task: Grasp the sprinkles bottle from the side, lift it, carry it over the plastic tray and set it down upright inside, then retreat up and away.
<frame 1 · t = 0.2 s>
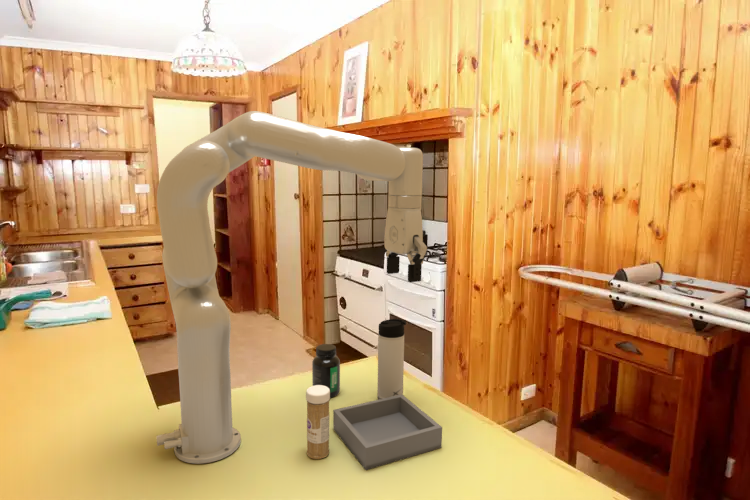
hand: (403, 277, 111), 31 cm above the countertop, tool pointing down, fingers open, 9 cm apart
travel mug: (390, 399, 118), on the countertop
supplement bottle: (326, 393, 121), on the countertop
sprinkles bottle: (318, 454, 95), on the countertop
tray: (385, 438, 100), on the countertop
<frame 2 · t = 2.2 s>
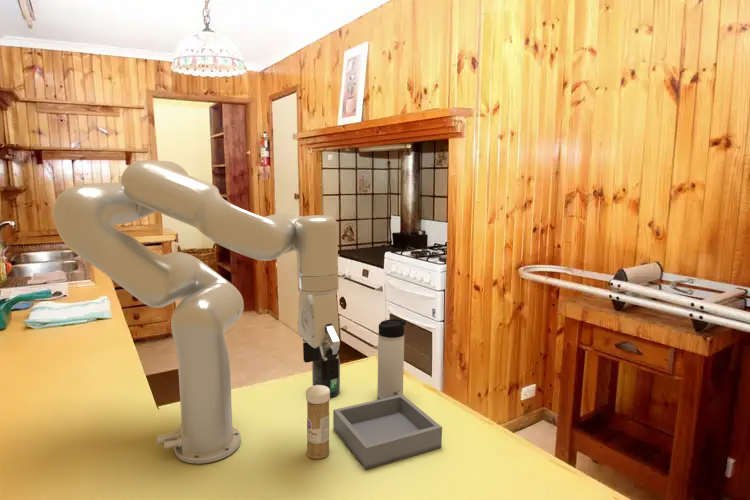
hand: (320, 369, 92), 17 cm above the countertop, tool pointing down, fingers open, 9 cm apart
nothing on the countertop moved.
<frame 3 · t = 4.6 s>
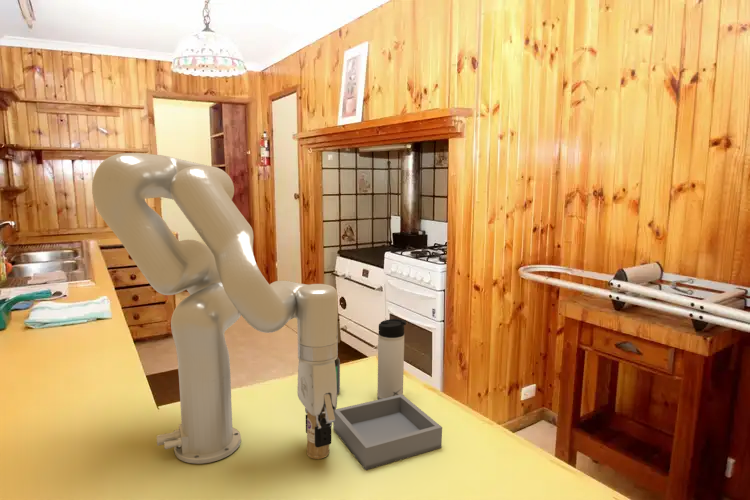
hand: (318, 437, 94), 3 cm above the countertop, tool pointing down, fingers closed on sprinkles bottle, 4 cm apart
sprinkles bottle: (318, 454, 95), on the countertop, touching gripper
everything else where it was.
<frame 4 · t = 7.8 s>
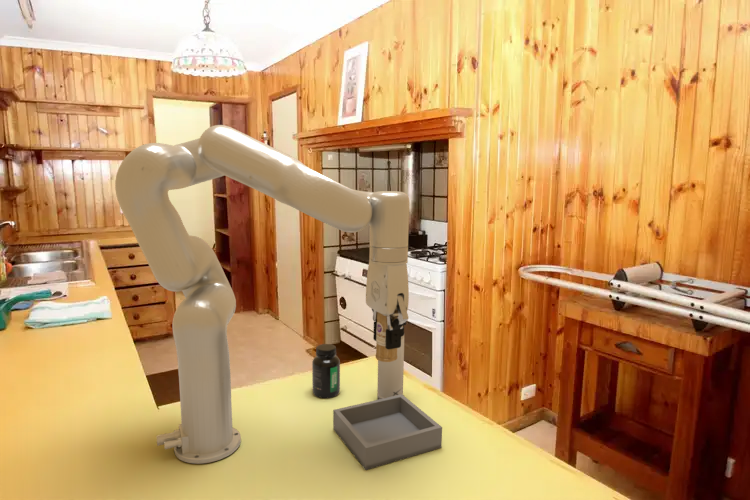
hand: (386, 342, 97), 21 cm above the countertop, tool pointing down, fingers closed on sprinkles bottle, 4 cm apart
sprinkles bottle: (386, 359, 97), point 17 cm above the countertop, touching gripper
everything else where it was.
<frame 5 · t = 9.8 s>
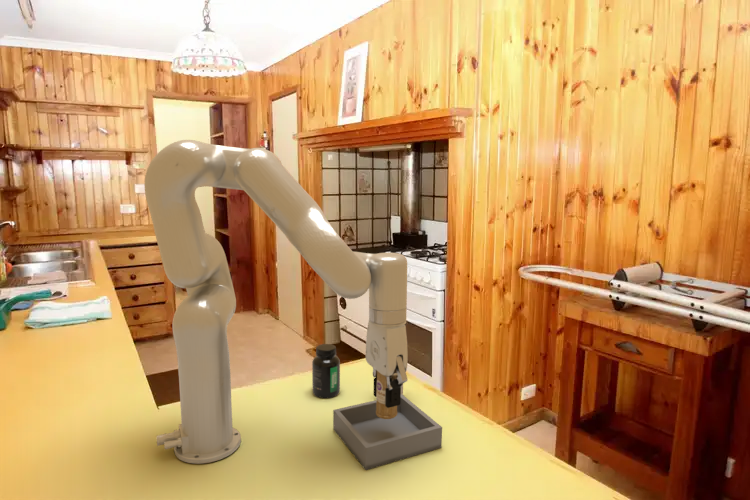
hand: (386, 399, 99), 9 cm above the countertop, tool pointing down, fingers closed on sprinkles bottle, 4 cm apart
sprinkles bottle: (386, 415, 99), point 5 cm above the countertop, touching gripper
everything else where it was.
when the fingers open (6 cm above the countertop, at t = 11.2 s): sprinkles bottle drops 1 cm, resting on tray.
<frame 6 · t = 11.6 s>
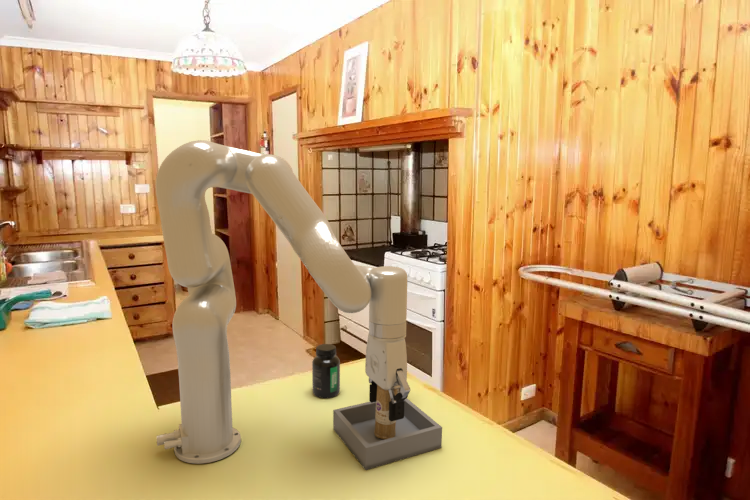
hand: (386, 409, 99), 6 cm above the countertop, tool pointing down, fingers open, 8 cm apart
sprinkles bottle: (385, 435, 100), point 1 cm above the countertop, touching tray
everything else where it was.
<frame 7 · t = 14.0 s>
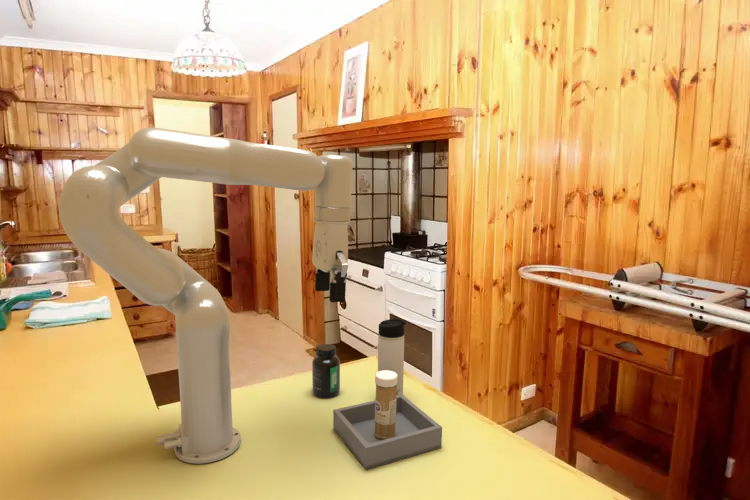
hand: (329, 295, 102), 29 cm above the countertop, tool pointing down, fingers open, 9 cm apart
nothing on the countertop moved.
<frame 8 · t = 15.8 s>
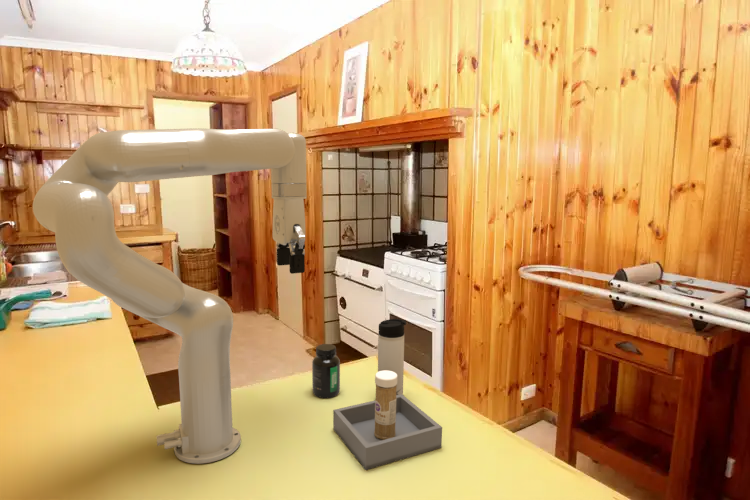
hand: (290, 268, 107), 33 cm above the countertop, tool pointing down, fingers open, 9 cm apart
nothing on the countertop moved.
at the end: sprinkles bottle inside the target area on the tray (0.2 cm from its centre), point 0.6 cm above the tray's base; sprinkles bottle tilted 0°; the gripper is holding nothing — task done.
